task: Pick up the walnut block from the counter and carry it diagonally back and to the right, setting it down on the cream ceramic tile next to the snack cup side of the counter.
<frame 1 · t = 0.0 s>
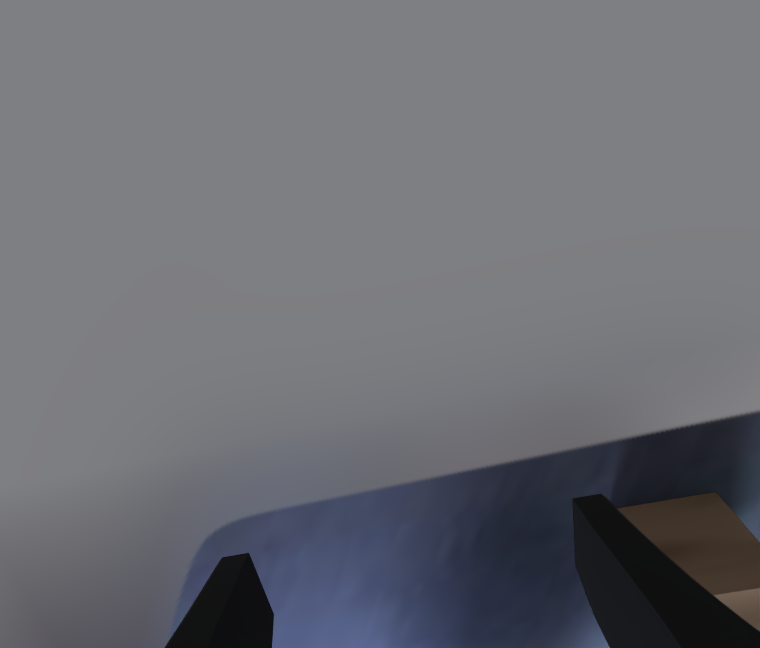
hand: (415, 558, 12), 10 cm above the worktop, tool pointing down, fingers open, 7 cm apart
walnut block: (659, 538, 26), on the worktop
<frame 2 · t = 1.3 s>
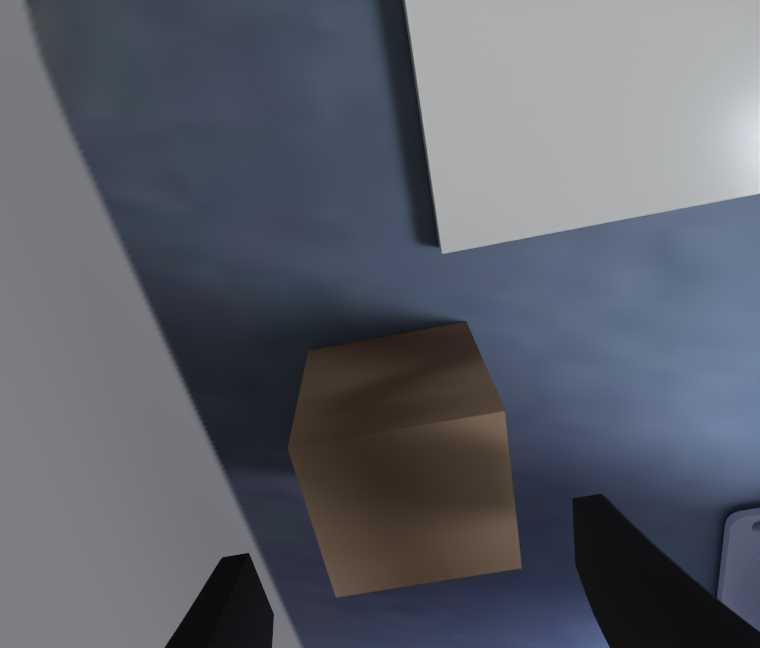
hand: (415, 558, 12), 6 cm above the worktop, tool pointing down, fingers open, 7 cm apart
cream tile: (612, 15, 13), on the worktop
walnut block: (400, 401, 18), on the worktop
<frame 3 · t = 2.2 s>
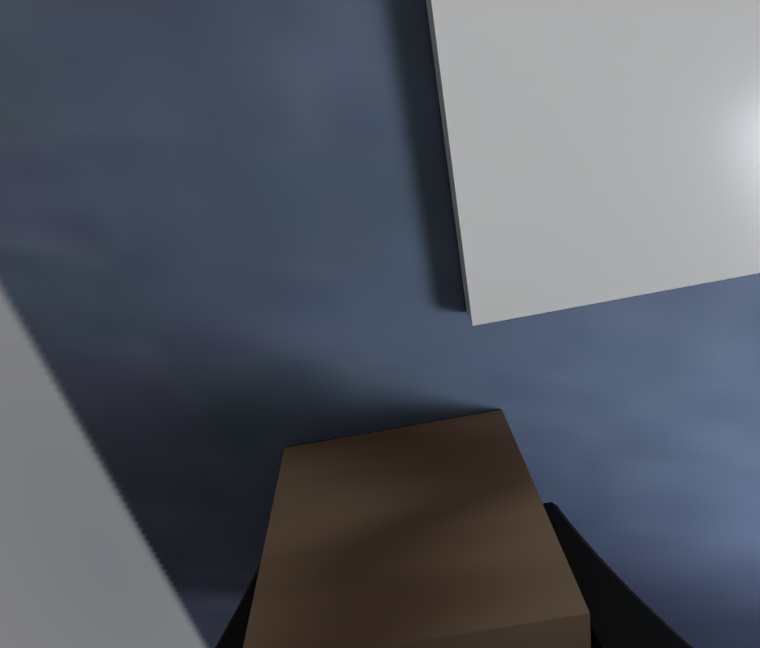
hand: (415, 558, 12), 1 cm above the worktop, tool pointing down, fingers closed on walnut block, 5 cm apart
walnut block: (409, 511, 13), on the worktop, touching gripper
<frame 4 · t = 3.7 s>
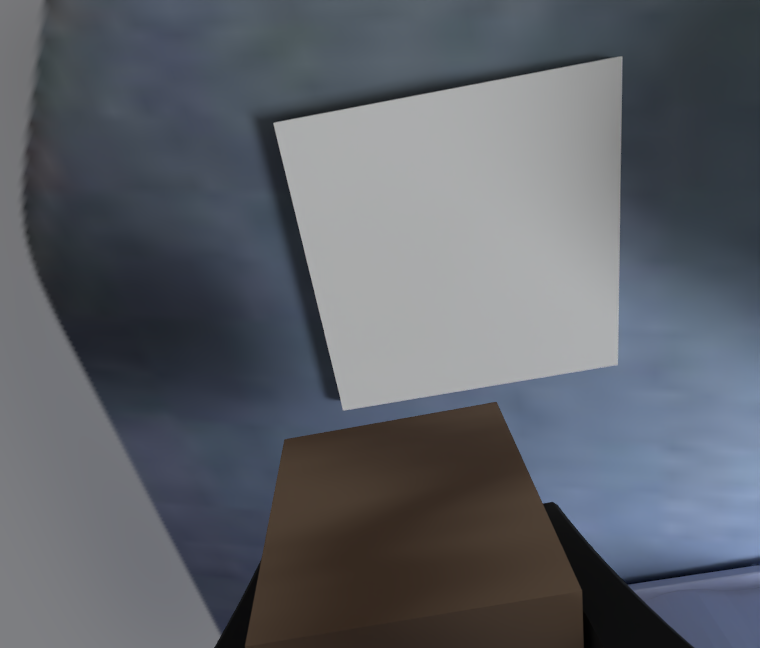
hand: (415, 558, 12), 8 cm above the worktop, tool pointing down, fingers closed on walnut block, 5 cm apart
cream tile: (461, 251, 18), on the worktop
walnut block: (406, 502, 13), point 7 cm above the worktop, touching gripper
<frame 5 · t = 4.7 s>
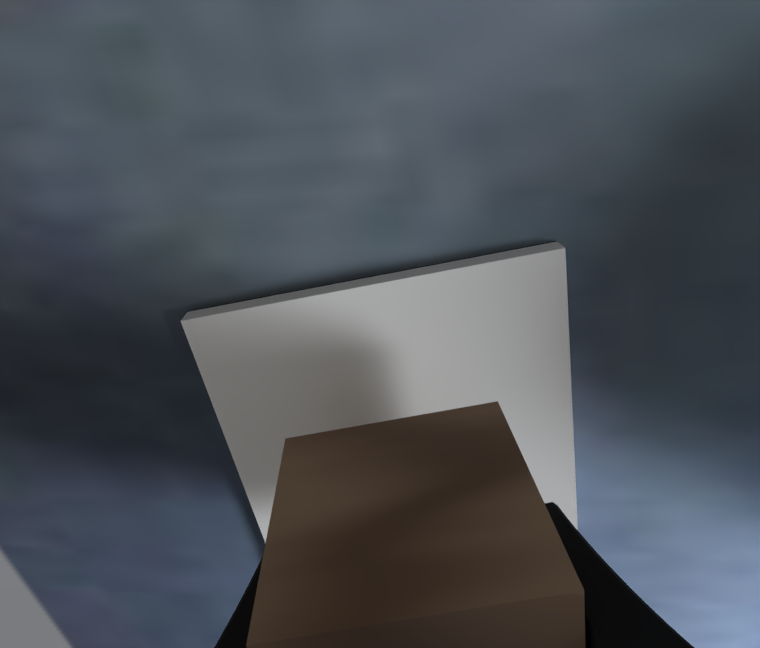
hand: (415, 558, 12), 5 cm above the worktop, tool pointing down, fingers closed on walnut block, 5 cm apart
cream tile: (401, 429, 16), on the worktop
walnut block: (407, 501, 13), point 3 cm above the worktop, touching gripper
when the fingers open (4 cm above the worktop, at t = 5.5 s): walnut block drops 1 cm, resting on cream tile.
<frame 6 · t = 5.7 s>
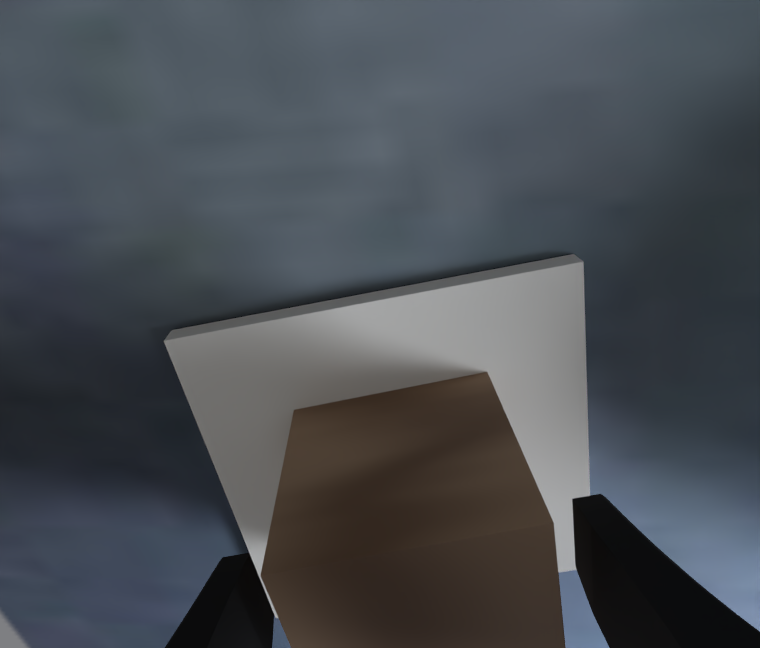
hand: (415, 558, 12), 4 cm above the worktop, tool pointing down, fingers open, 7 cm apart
cream tile: (403, 454, 15), on the worktop
walnut block: (407, 467, 14), point 1 cm above the worktop, touching cream tile
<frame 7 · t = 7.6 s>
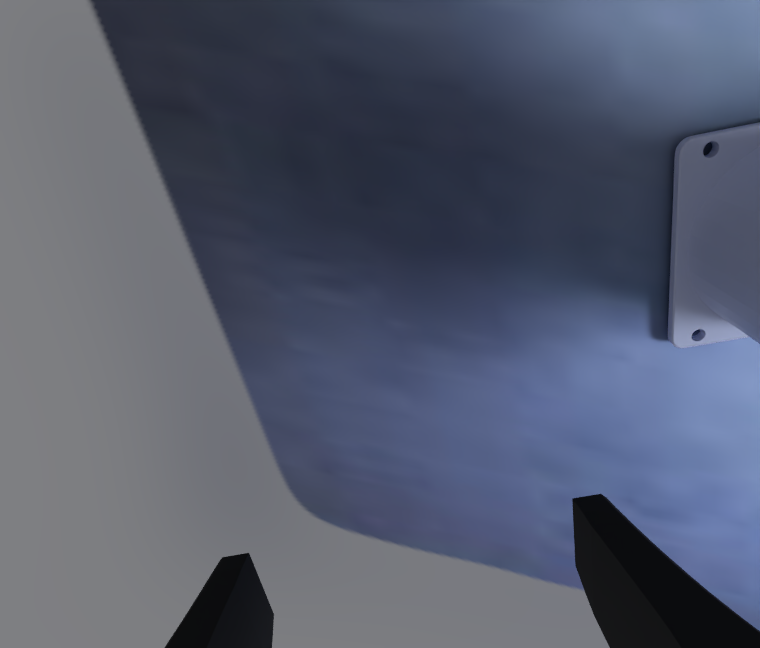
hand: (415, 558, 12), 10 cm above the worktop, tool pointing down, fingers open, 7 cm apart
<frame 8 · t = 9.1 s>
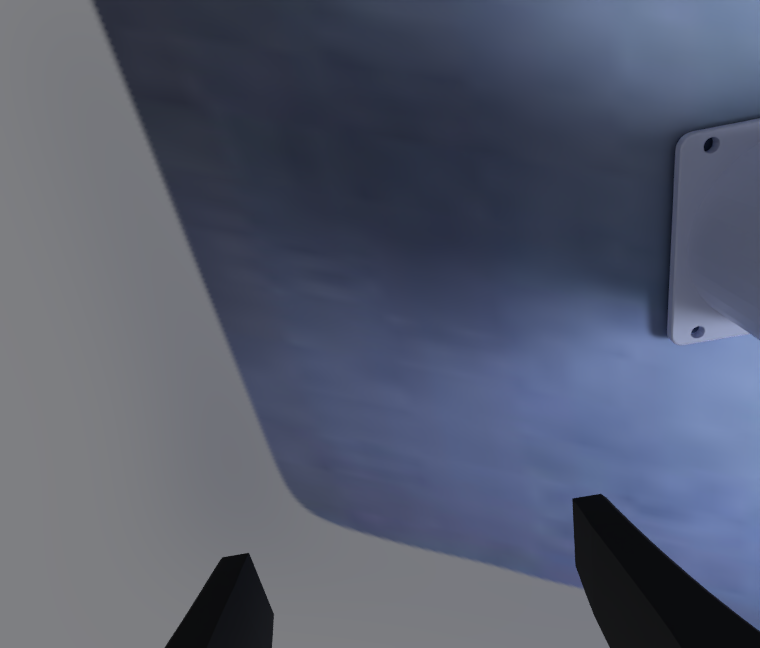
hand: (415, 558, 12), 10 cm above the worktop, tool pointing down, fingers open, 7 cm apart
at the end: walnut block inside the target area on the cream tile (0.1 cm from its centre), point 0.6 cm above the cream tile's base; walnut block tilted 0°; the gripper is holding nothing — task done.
